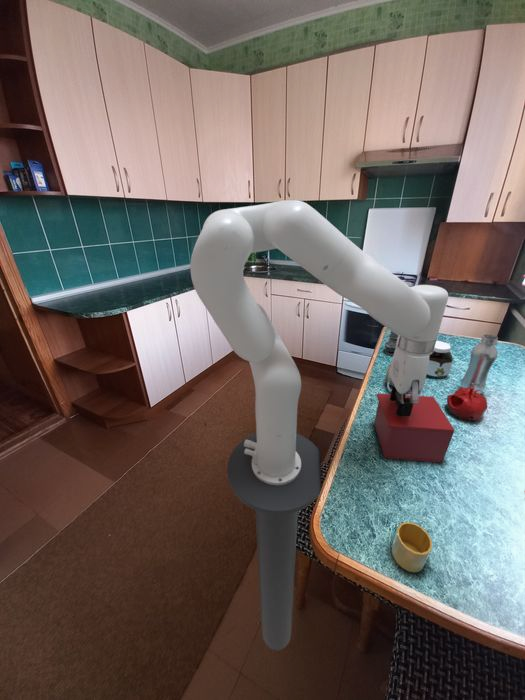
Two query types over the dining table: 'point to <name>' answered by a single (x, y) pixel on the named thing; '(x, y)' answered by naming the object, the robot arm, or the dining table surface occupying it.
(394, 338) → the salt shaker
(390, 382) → the ceramic mug
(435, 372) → the spread jar
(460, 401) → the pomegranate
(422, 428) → the lid
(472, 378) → the plastic bottle
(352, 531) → the dining table surface
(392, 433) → the red lidded box
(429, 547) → the cup
